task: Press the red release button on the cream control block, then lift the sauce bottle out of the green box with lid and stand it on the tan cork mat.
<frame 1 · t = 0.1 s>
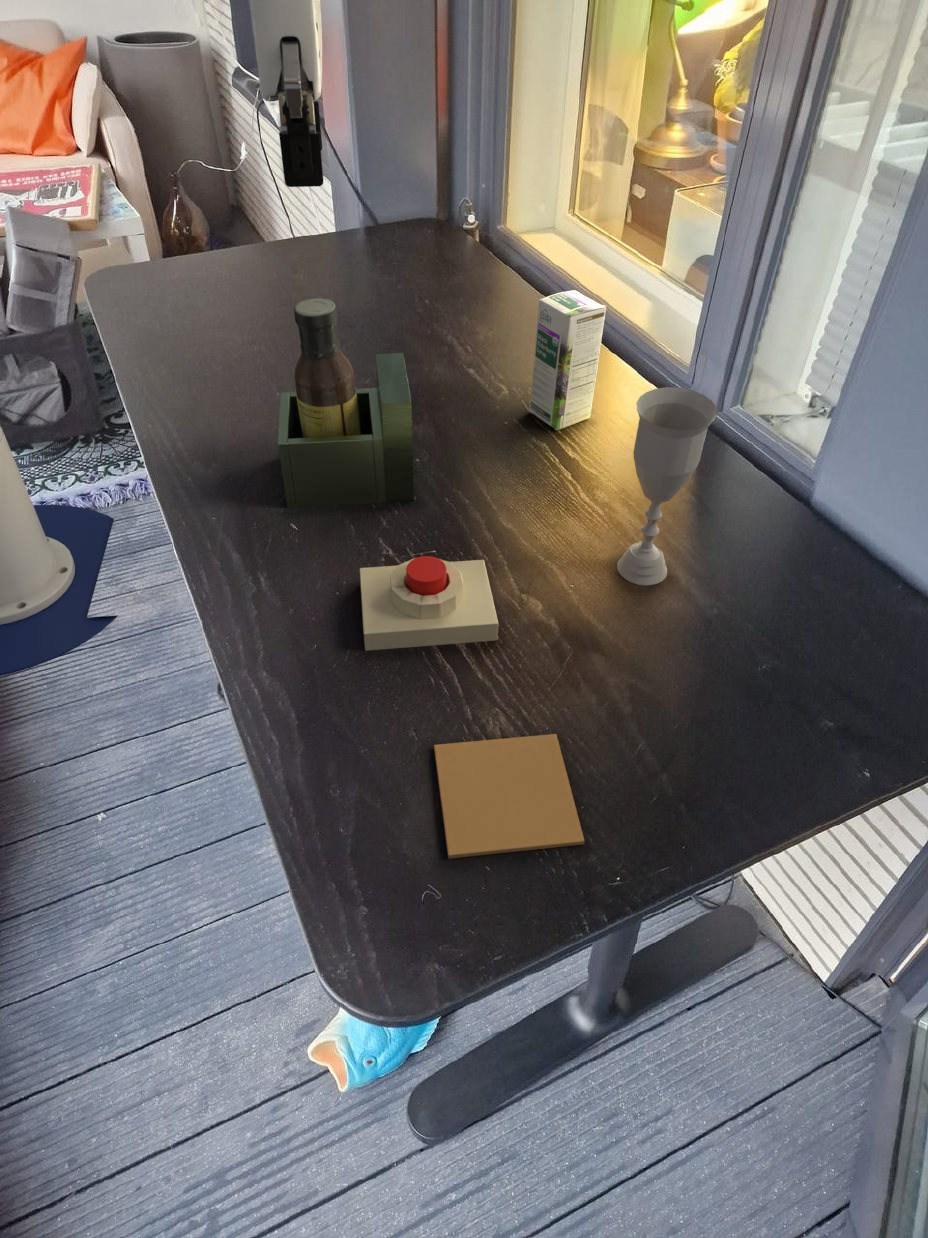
hand: (304, 167, 75), 31 cm above the table, tool pointing down, fingers open, 9 cm apart
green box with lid: (336, 477, 95), on the table
release button: (426, 576, 77), point 4 cm above the table, slide at 0.1 cm
chalice: (641, 570, 85), on the table
syrup box: (559, 416, 106), on the table
sauce bottle: (336, 479, 96), resting in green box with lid
mat: (505, 794, 65), on the table
control block: (427, 612, 80), on the table
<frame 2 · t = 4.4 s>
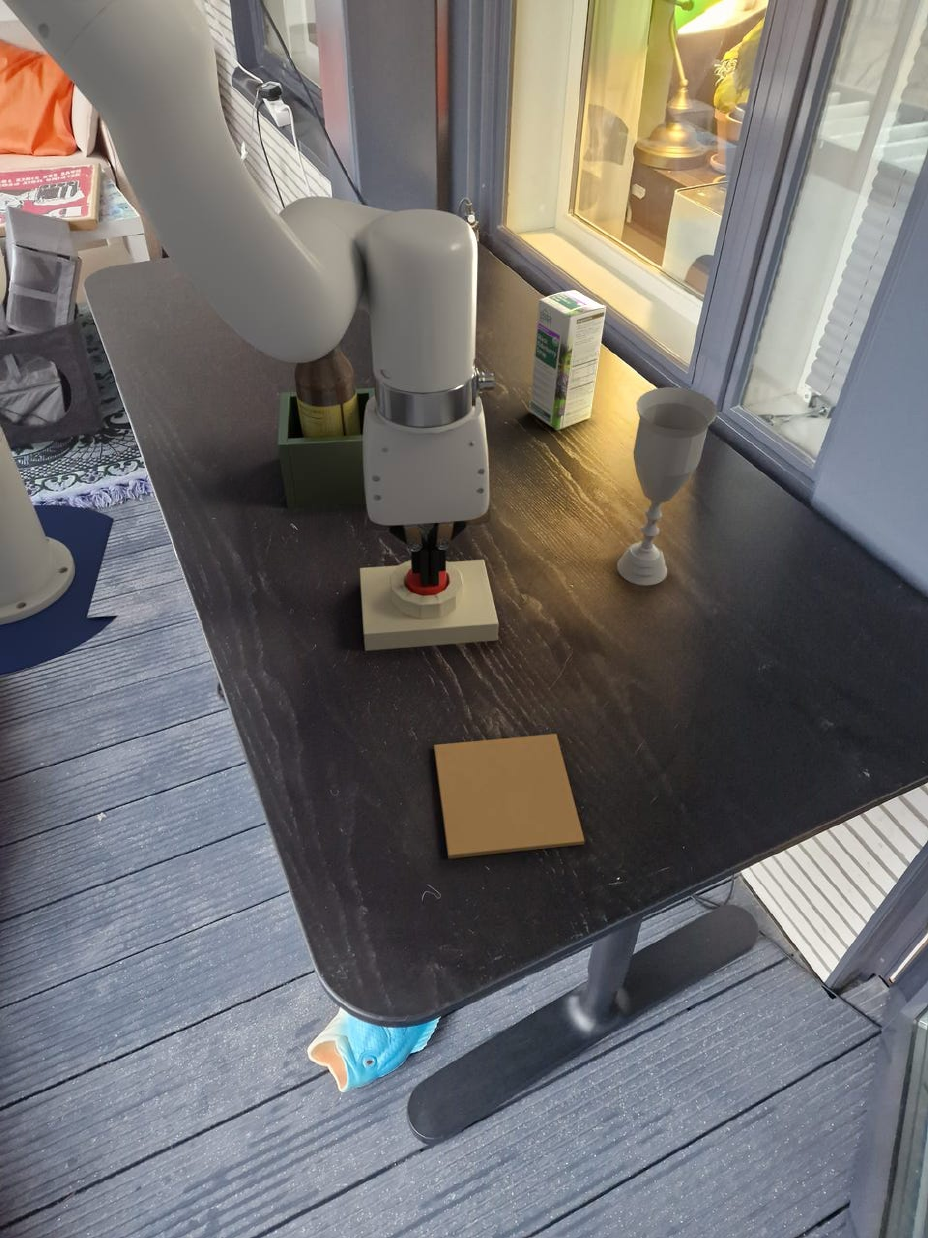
hand: (428, 575, 77), 5 cm above the table, tool pointing down, fingers closed
release button: (426, 583, 77), point 4 cm above the table, slide at -0.7 cm, touching gripper
everything else where it was.
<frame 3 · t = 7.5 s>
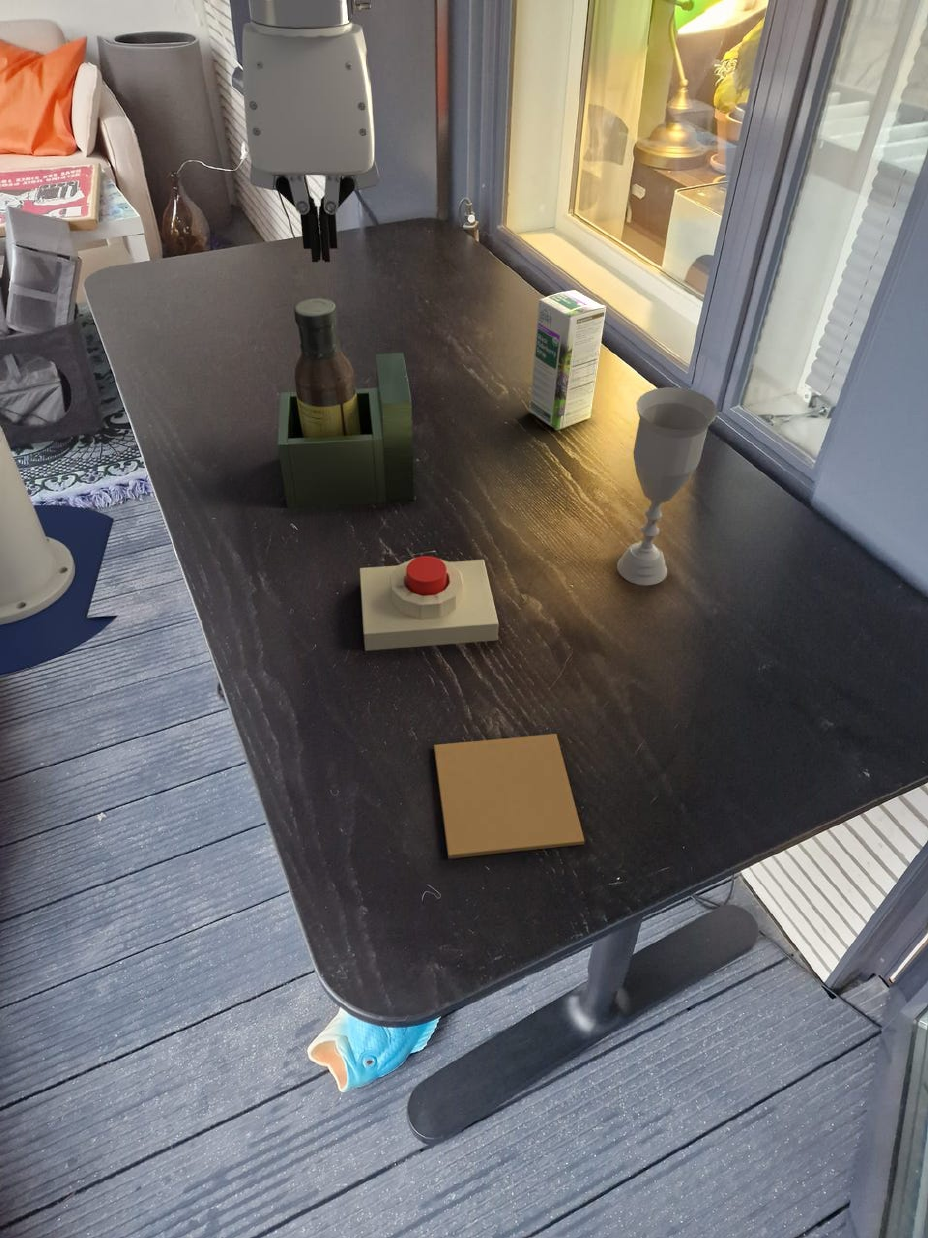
hand: (321, 255, 76), 26 cm above the table, tool pointing down, fingers closed
release button: (426, 576, 77), point 4 cm above the table, slide at 0.1 cm
everything else where it was.
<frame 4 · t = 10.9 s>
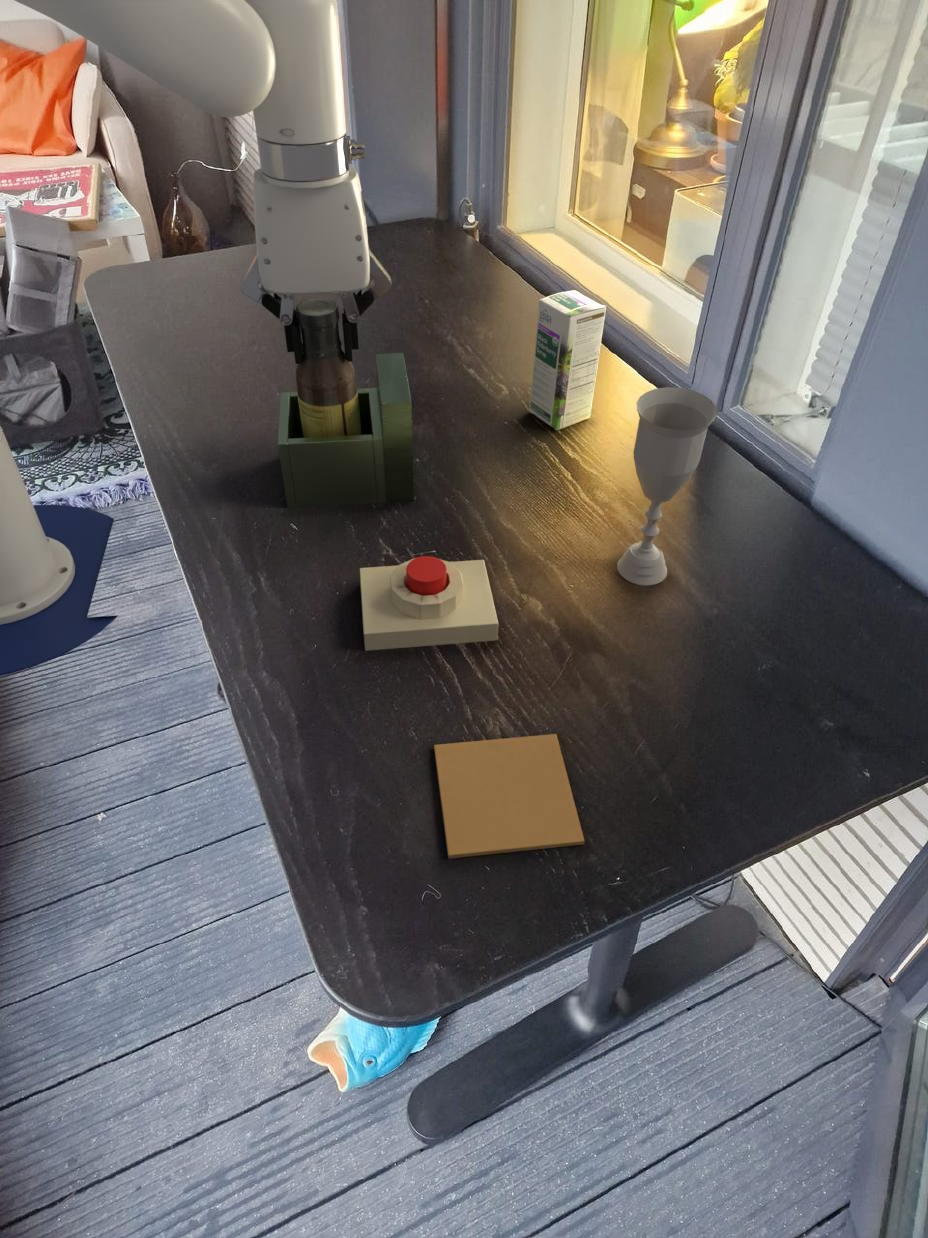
hand: (324, 354, 85), 15 cm above the table, tool pointing down, fingers closed on sauce bottle, 4 cm apart
sauce bottle: (336, 479, 96), resting in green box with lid, touching gripper
everything else where it was.
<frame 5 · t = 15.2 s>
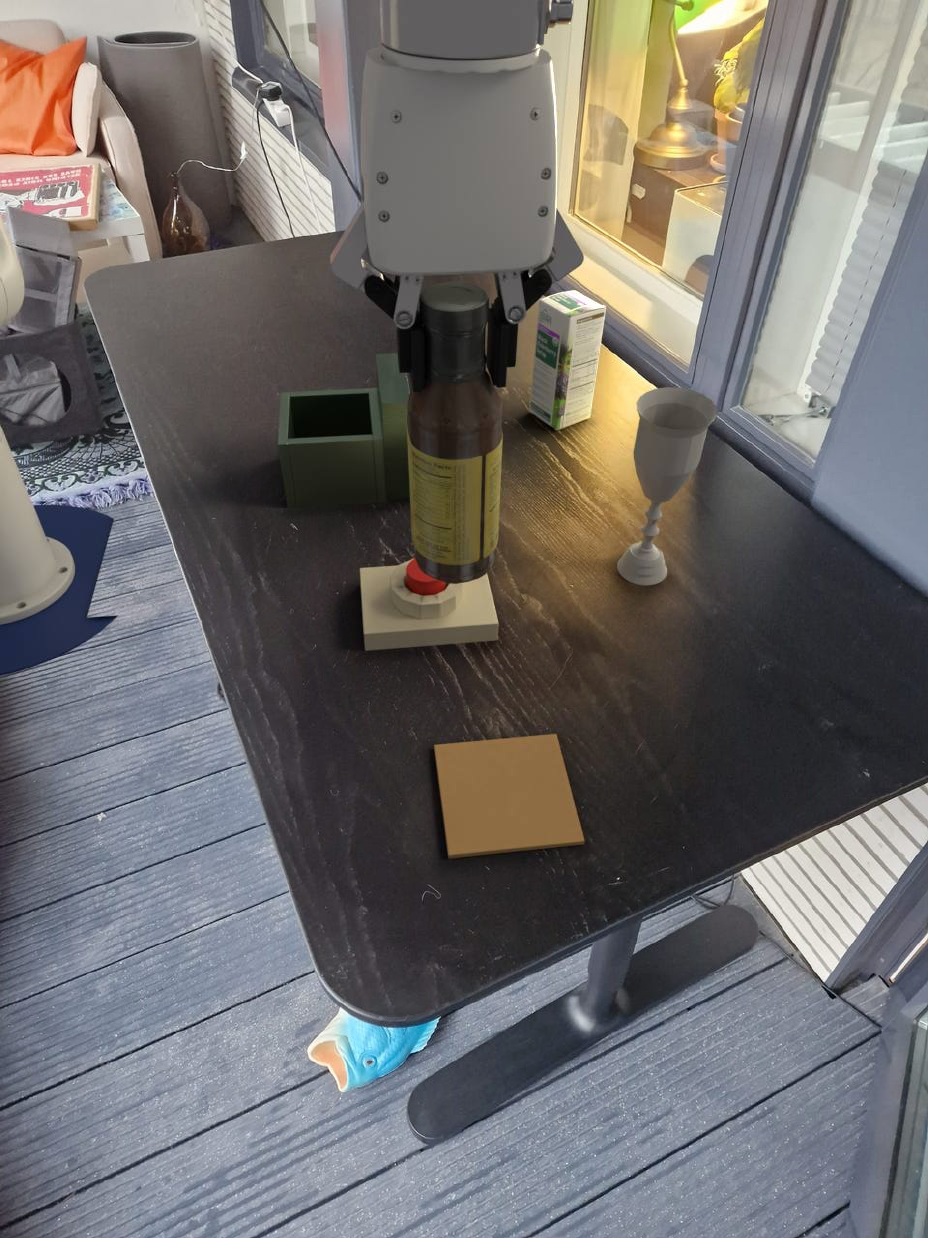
hand: (456, 376, 52), 29 cm above the table, tool pointing down, fingers closed on sauce bottle, 4 cm apart
sauce bottle: (452, 562, 63), point 15 cm above the table, touching gripper
everything else where it was.
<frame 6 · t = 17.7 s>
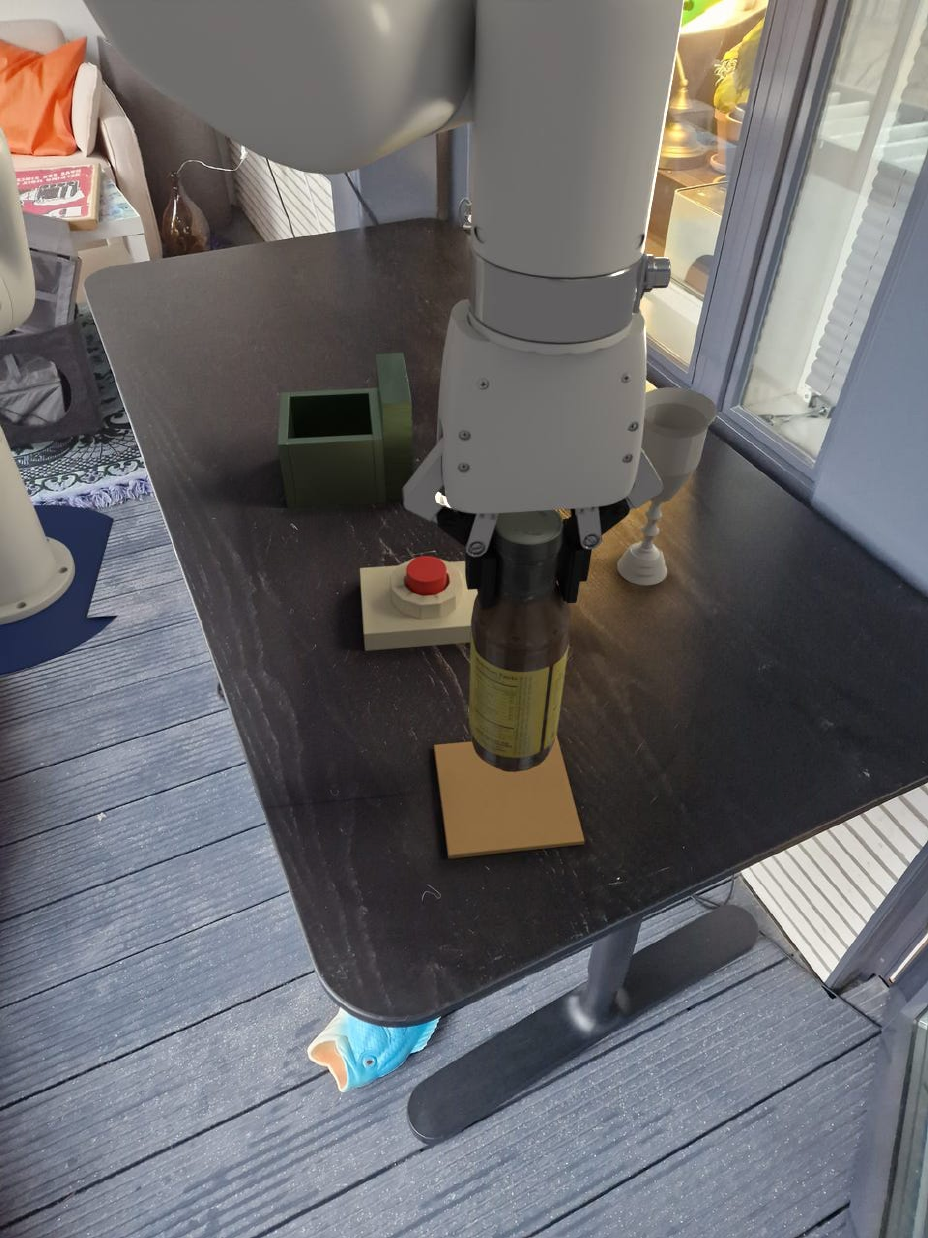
hand: (524, 588, 51), 21 cm above the table, tool pointing down, fingers closed on sauce bottle, 4 cm apart
sauce bottle: (509, 743, 61), point 6 cm above the table, touching gripper
everything else where it was.
when the fingers open (15 cm above the table, at t = 19.5 s): sauce bottle stays where it is, resting on mat.
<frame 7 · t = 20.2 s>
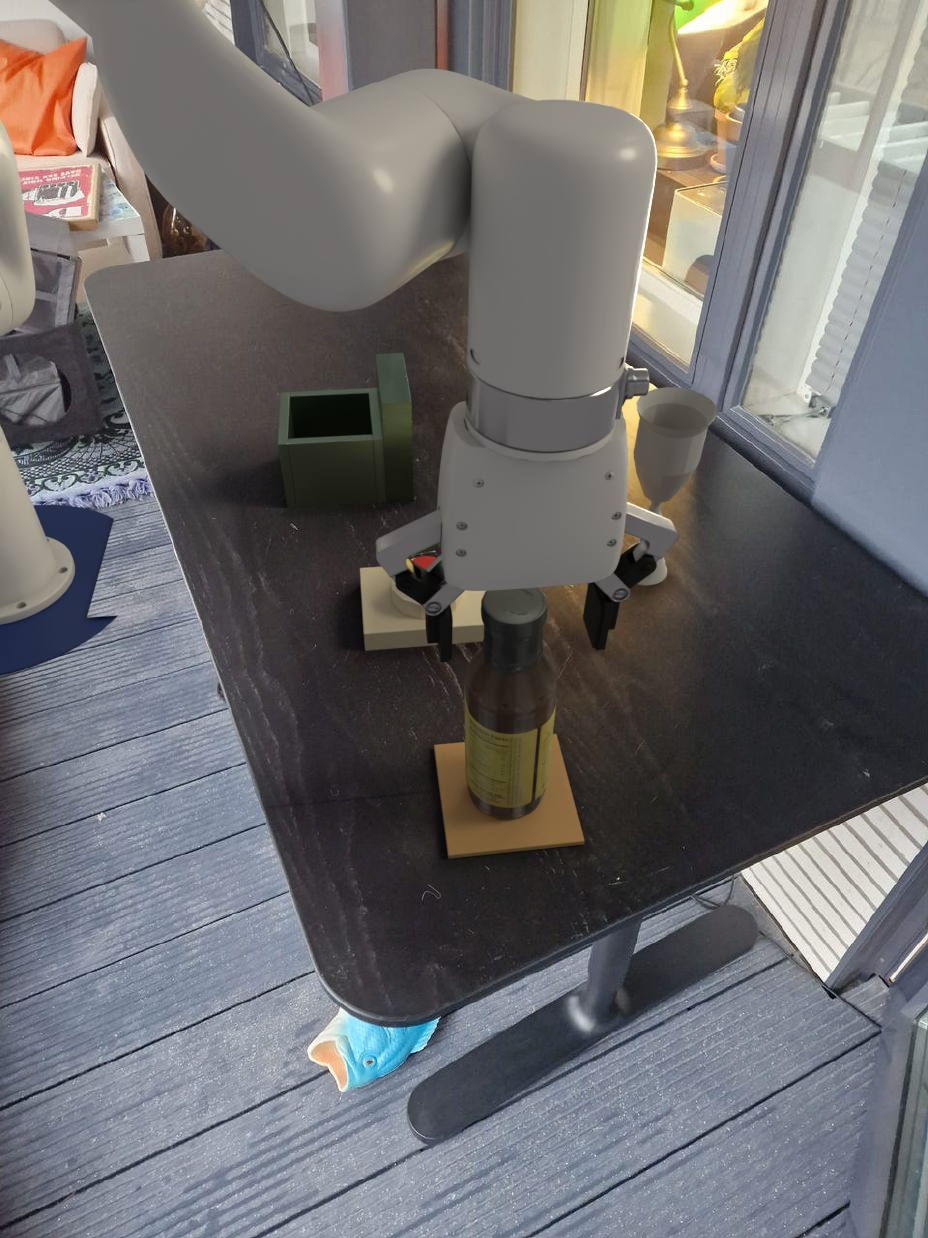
hand: (519, 640, 54), 17 cm above the table, tool pointing down, fingers open, 9 cm apart
sauce bottle: (503, 791, 65), resting on mat
everything else where it was.
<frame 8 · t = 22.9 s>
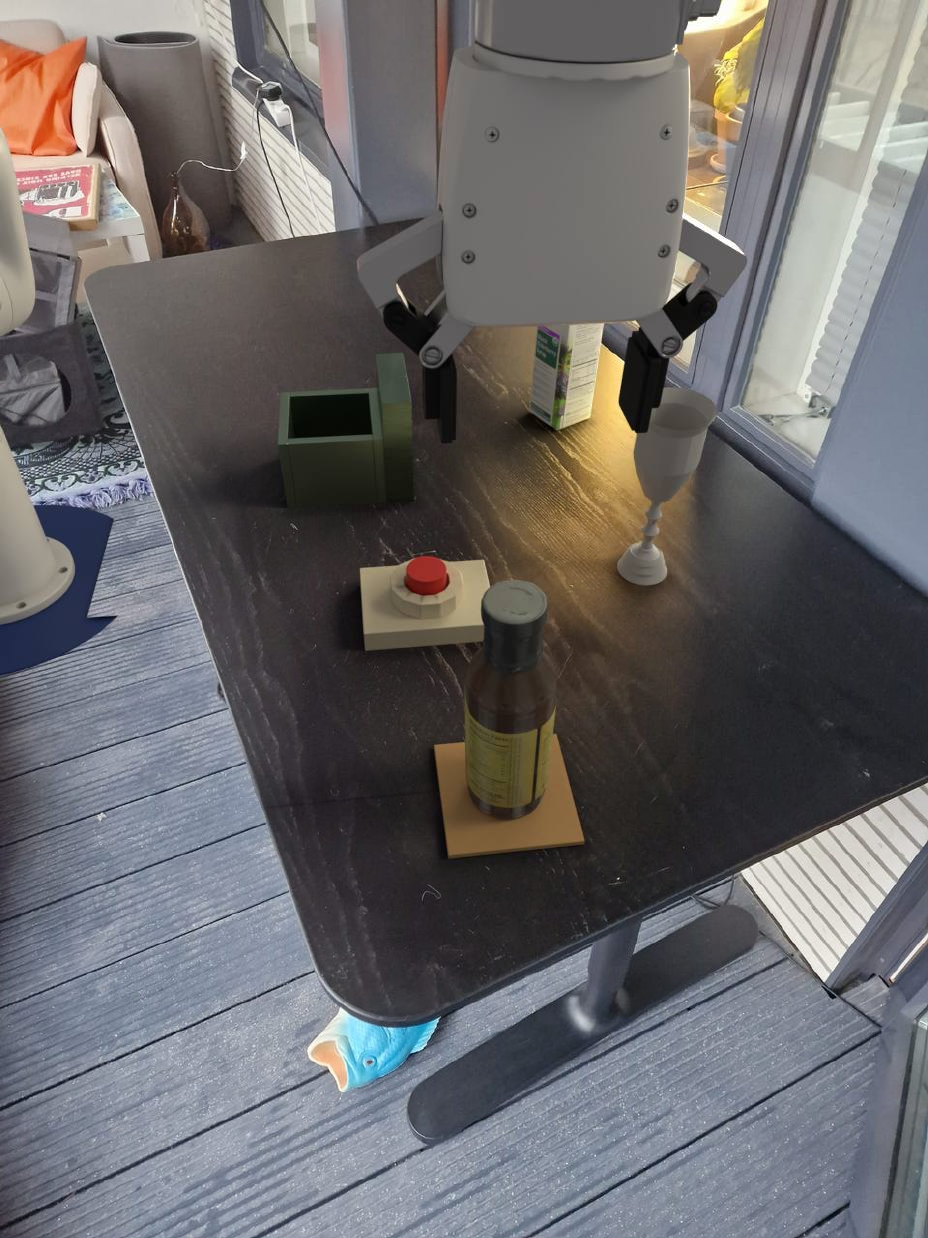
hand: (539, 423, 43), 32 cm above the table, tool pointing down, fingers open, 9 cm apart
nothing on the table moved.
at the end: release button pushed in 1.1 cm at the most during the clip, back to where it started at the end; sauce bottle inside the target area on the mat (0.1 cm from its centre), point 0.3 cm above the mat's base; sauce bottle tilted 0° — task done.
